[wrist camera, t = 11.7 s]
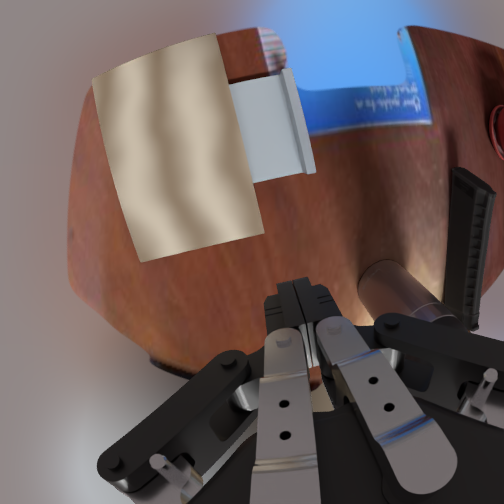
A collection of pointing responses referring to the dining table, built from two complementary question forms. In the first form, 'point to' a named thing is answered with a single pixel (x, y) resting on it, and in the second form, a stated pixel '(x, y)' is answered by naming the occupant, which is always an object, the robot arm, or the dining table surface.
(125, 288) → the dining table surface
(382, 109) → the dining table surface
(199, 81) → the small table
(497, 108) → the plant pot
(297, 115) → the slab
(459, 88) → the dining table surface
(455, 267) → the magazine
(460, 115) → the dining table surface
